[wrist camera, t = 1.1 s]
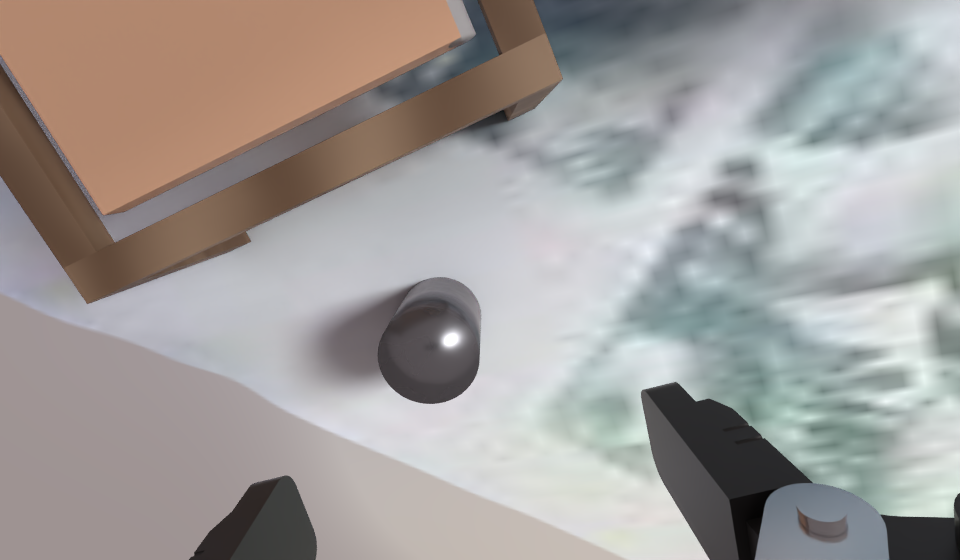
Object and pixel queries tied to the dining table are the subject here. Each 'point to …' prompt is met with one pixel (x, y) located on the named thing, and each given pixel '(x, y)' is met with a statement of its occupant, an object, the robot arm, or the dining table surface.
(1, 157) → the trapdoor frame
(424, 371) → the cylinder
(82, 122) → the trapdoor
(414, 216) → the dining table surface
